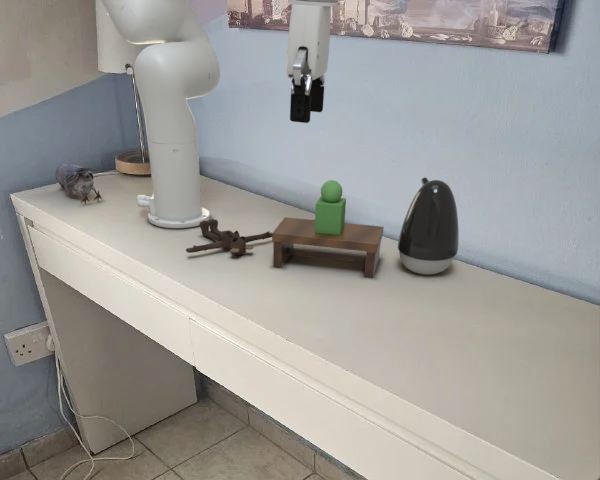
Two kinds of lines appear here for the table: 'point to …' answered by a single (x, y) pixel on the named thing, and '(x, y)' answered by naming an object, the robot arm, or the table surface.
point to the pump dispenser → (430, 229)
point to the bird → (76, 180)
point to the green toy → (330, 209)
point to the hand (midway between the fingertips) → (306, 116)
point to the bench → (327, 242)
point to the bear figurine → (225, 239)
